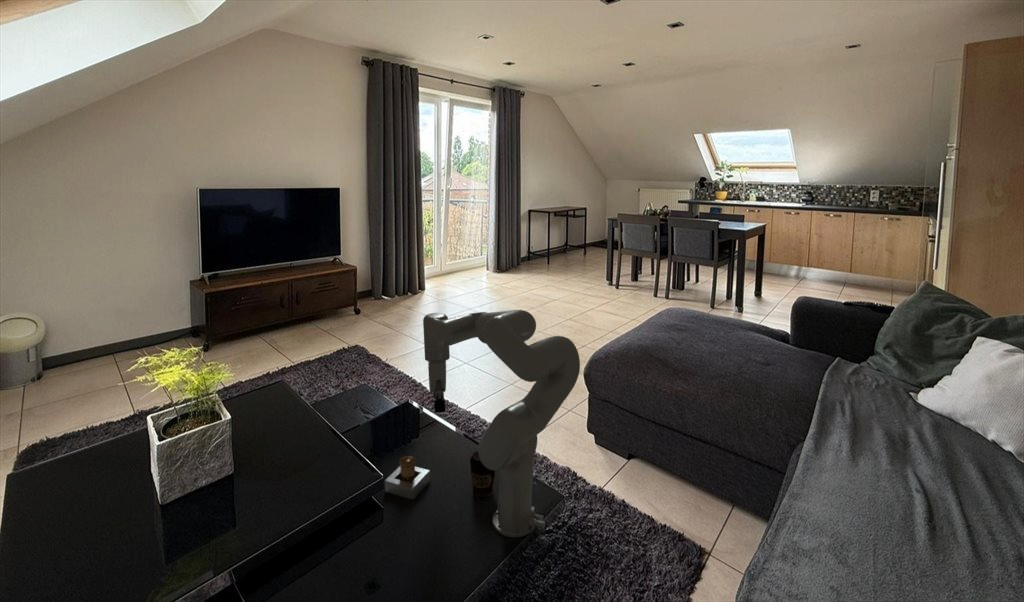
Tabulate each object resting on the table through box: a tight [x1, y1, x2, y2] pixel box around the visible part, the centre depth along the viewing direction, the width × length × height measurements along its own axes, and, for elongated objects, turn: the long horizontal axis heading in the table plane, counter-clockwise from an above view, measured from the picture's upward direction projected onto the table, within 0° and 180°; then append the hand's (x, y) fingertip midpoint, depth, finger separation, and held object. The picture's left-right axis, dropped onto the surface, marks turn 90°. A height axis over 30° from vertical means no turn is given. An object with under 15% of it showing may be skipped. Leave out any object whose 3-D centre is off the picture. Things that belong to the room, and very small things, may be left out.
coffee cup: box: [469, 450, 496, 498], centre depth 152 cm, size 9×8×13 cm
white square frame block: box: [384, 466, 431, 501], centre depth 155 cm, size 10×10×4 cm
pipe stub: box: [398, 455, 417, 483], centre depth 154 cm, size 5×5×9 cm
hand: (439, 404), depth 154 cm, fingers open, 9 cm apart
